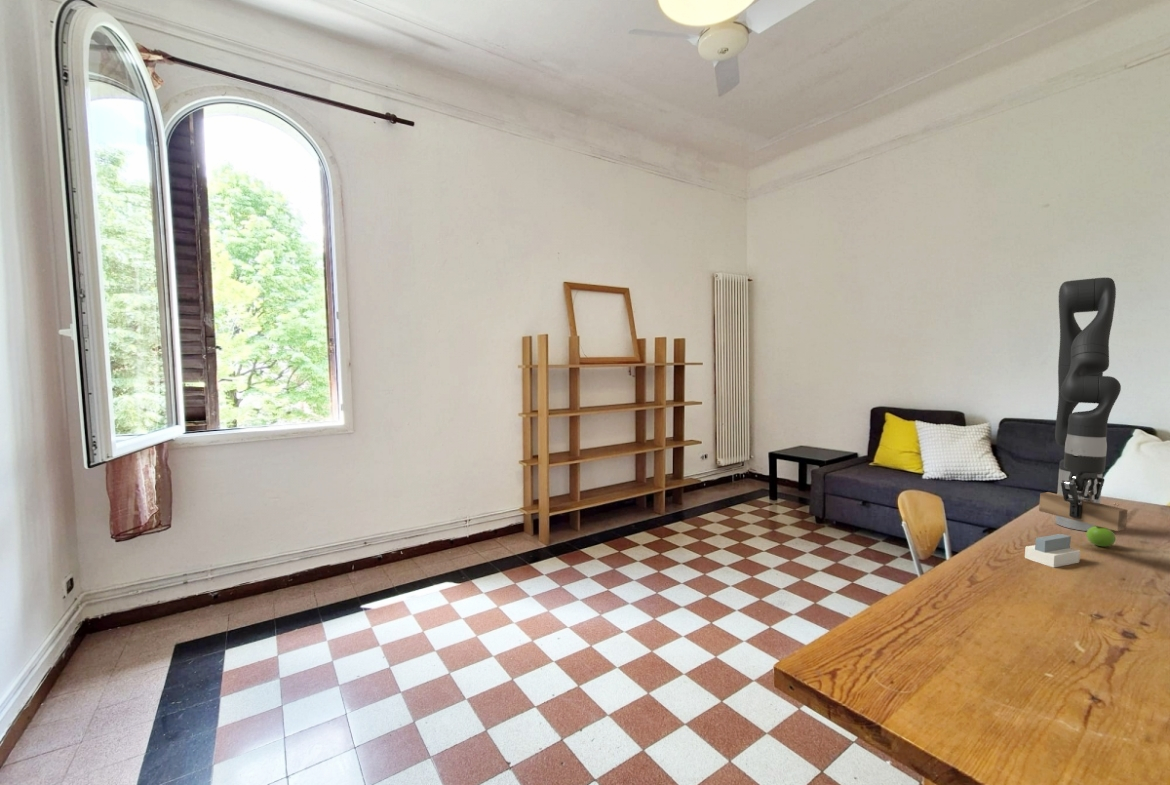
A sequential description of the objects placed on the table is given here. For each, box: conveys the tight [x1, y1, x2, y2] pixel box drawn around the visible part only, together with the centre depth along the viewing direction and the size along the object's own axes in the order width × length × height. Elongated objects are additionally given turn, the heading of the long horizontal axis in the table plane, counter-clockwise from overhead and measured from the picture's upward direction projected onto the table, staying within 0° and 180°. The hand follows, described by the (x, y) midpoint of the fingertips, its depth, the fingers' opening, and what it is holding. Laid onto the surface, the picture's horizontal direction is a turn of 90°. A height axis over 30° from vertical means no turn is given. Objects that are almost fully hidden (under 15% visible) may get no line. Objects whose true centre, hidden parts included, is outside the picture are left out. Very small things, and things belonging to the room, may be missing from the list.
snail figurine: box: [1086, 502, 1120, 548], centre depth 132 cm, size 5×6×12 cm
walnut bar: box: [1038, 491, 1128, 532], centre depth 126 cm, size 4×16×5 cm, turn 18°
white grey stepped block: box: [1024, 533, 1081, 568], centre depth 122 cm, size 10×6×6 cm, turn 108°
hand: (1080, 516), depth 127 cm, fingers closed on walnut bar, 3 cm apart
